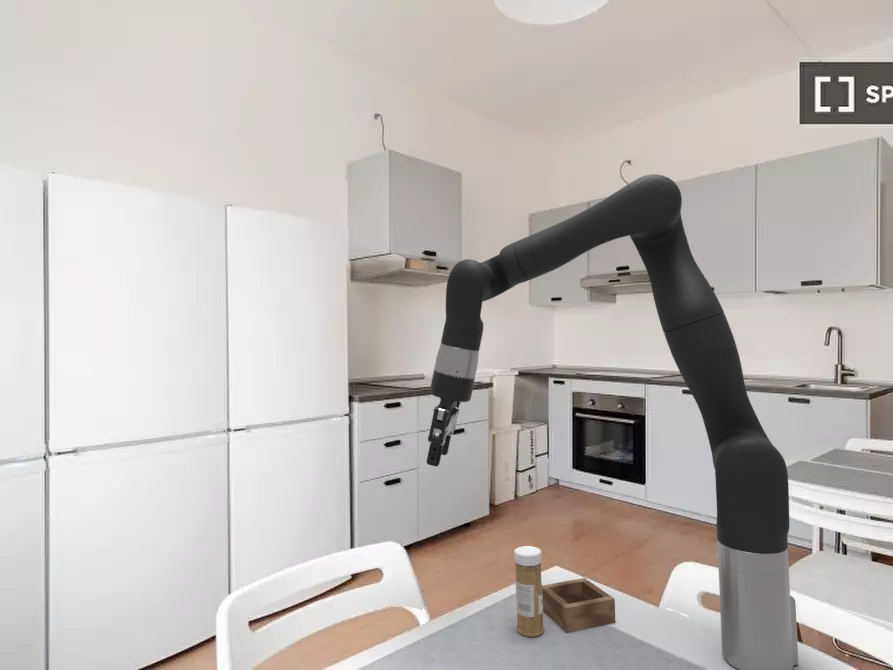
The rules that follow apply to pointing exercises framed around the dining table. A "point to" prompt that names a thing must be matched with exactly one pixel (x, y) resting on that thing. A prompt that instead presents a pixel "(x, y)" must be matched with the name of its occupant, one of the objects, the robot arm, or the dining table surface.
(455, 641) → the dining table surface
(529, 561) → the sprinkles bottle
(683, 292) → the robot arm
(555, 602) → the frame
